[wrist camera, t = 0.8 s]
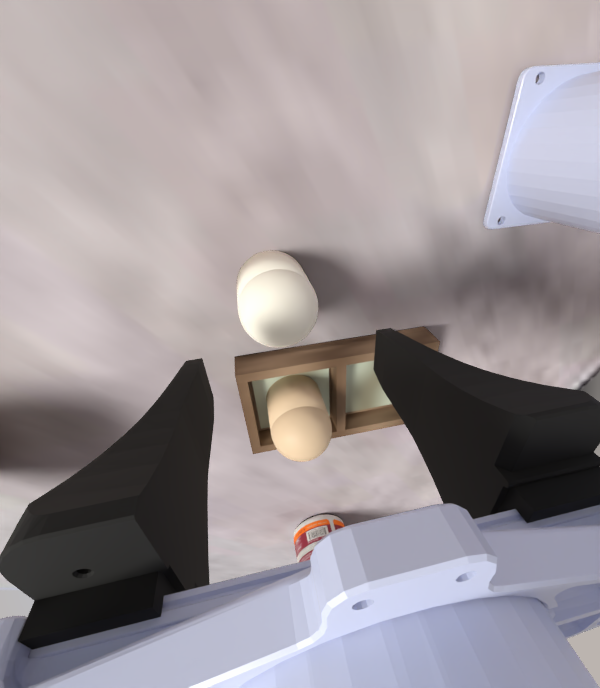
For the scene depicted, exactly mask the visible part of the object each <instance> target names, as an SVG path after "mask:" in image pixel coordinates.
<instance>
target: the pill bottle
mask: <svg viewBox="0 0 600 688" xmlns="http://www.w3.org/2000/svg"><path fill="white" fill-rule="evenodd" d="M343 527H345V526H344V523H343V521H342V520H341V519H340V518H339V517H337V516H334V515H328V514H323V515H317V516H314V517H311V518H309V519H307V520H305V521H304V522H302V523H301V524H300V525H299V526H298V527H297V528H296V529H295V532H294V544H295V550H296V555H297V562H298V563H299V562H303V561H307V560H310V557H311V554H312V552H313V550H314V547H315V545H316V544H317V542H318V541H320V540H321V539H322V538H324V537H325V536H326V535H327V534H329V533H330V532H332V531H335V530H337V529H340V528H343Z"/></svg>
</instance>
